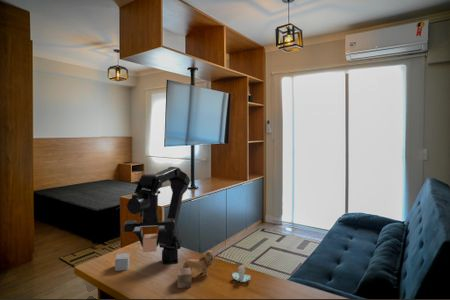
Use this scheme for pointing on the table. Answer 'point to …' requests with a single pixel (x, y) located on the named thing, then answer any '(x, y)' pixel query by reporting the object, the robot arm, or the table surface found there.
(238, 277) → the pacifier
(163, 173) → the robot arm
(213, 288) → the table surface
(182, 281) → the walnut block
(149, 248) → the terracotta block
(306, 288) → the table surface
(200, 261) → the lion figurine
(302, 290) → the table surface
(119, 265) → the slate grey block
